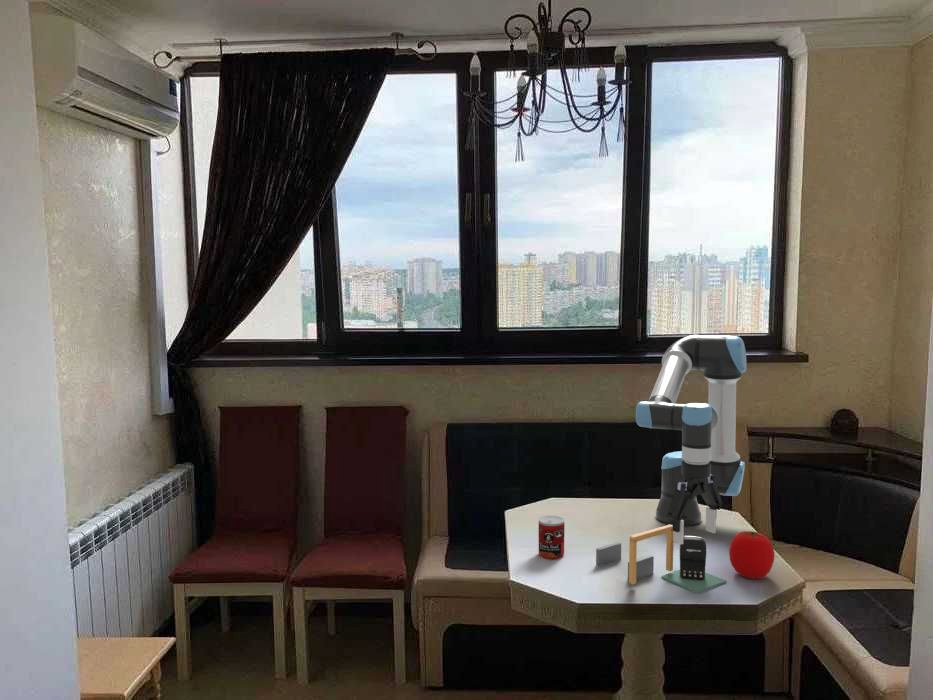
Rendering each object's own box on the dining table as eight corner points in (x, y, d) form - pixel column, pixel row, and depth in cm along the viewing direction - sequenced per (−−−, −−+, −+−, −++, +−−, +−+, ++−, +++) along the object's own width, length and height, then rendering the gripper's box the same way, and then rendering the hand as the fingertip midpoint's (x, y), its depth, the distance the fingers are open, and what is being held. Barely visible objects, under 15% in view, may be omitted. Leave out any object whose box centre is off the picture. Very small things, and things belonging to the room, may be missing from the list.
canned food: (535, 558, 205) (535, 522, 204) (542, 548, 213) (542, 514, 212) (561, 561, 202) (561, 525, 202) (566, 552, 210) (566, 516, 209)
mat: (689, 568, 197) (689, 566, 197) (726, 582, 187) (726, 580, 187) (661, 577, 190) (661, 575, 190) (697, 593, 180) (697, 591, 180)
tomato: (751, 587, 184) (752, 541, 183) (719, 571, 195) (720, 527, 194) (785, 579, 189) (786, 534, 188) (751, 564, 200) (753, 521, 199)
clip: (618, 558, 205) (618, 542, 204) (653, 573, 193) (653, 556, 193) (596, 565, 200) (596, 548, 199) (631, 581, 188) (631, 563, 188)
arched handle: (668, 568, 193) (669, 524, 192) (672, 570, 192) (673, 525, 191) (628, 582, 184) (629, 536, 183) (632, 584, 183) (633, 537, 182)
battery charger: (679, 579, 188) (680, 539, 187) (678, 574, 191) (679, 534, 190) (706, 582, 186) (707, 541, 185) (705, 576, 190) (706, 536, 189)
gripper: (713, 451, 196) (711, 523, 198) (653, 465, 182) (652, 543, 184) (736, 456, 190) (734, 531, 192) (676, 472, 176) (675, 552, 178)
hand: (694, 537), depth 188 cm, fingers open, 13 cm apart
